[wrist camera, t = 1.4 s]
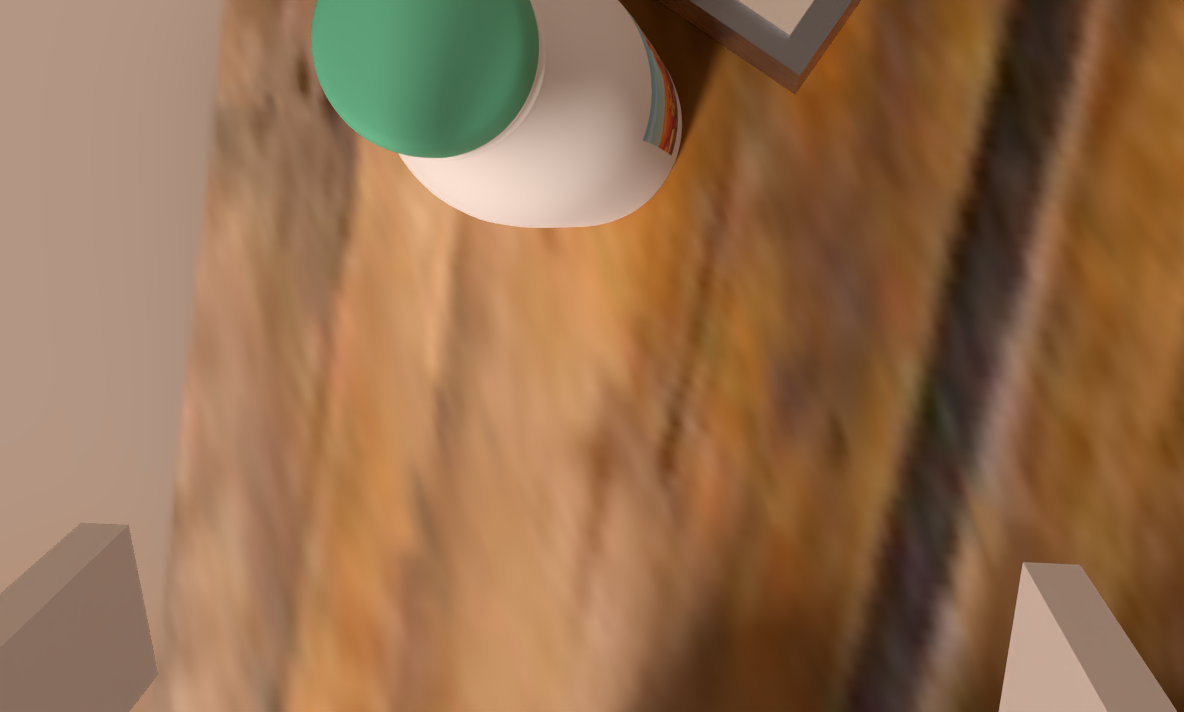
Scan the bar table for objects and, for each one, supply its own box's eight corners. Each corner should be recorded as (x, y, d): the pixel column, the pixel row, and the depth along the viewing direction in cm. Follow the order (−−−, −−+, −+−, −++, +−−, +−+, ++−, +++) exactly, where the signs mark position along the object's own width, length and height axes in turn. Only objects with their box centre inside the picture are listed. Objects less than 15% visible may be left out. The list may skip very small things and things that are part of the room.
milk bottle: (672, 236, 39) (581, 251, 20) (484, 216, 40) (223, 211, 21) (695, 34, 38) (622, -161, 19) (500, 20, 39) (241, -179, 20)
